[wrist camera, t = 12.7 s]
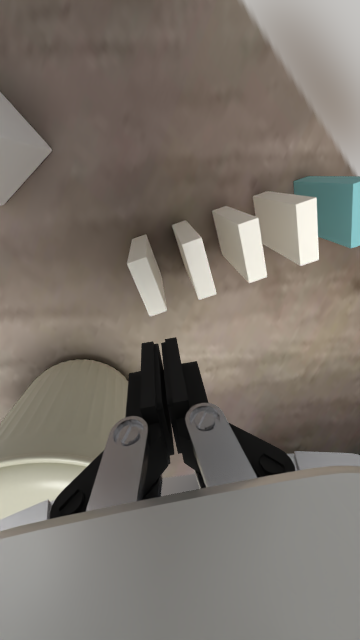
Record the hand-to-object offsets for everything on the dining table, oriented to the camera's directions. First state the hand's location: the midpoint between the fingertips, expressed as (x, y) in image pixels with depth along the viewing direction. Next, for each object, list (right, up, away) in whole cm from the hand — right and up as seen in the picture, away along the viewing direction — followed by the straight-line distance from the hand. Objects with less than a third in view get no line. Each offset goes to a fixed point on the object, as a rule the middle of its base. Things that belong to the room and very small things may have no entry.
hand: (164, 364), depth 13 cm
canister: (-13, -8, +25) cm, 29 cm away
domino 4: (+10, +13, +16) cm, 23 cm away
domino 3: (+6, +12, +16) cm, 21 cm away
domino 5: (+14, +15, +16) cm, 26 cm away
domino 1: (-3, +9, +17) cm, 19 cm away
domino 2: (+1, +10, +16) cm, 19 cm away
